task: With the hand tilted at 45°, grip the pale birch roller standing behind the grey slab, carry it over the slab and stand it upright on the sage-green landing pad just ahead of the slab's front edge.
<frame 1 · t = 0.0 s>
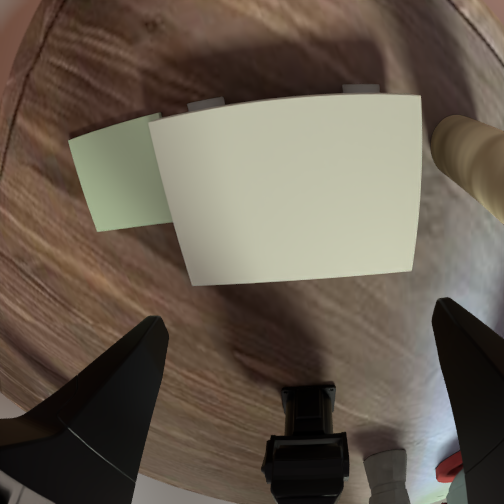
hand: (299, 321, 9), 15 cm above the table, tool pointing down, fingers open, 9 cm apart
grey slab: (294, 177, 22), on the table
landing pad: (125, 176, 23), on the table
birch roller: (458, 146, 19), on the table
coffeepot: (387, 457, 48), on the table
stand mixer: (477, 454, 52), on the table
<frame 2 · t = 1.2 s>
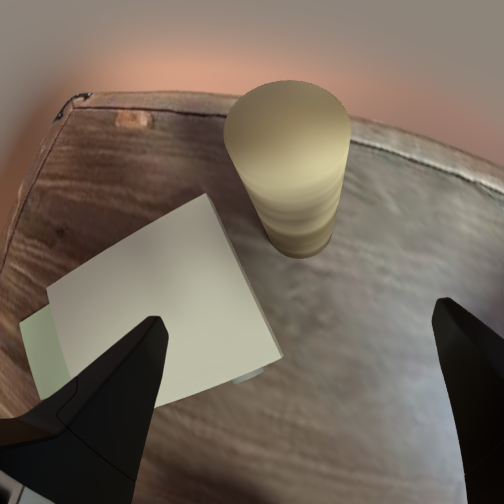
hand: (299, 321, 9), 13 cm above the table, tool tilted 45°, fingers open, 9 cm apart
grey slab: (162, 322, 24), on the table
landing pad: (54, 349, 25), on the table
birch roller: (299, 226, 24), on the table
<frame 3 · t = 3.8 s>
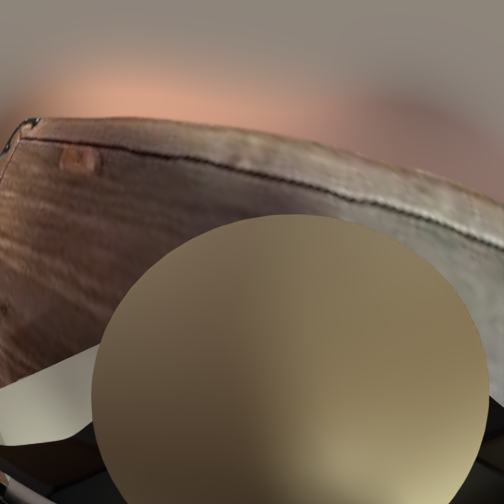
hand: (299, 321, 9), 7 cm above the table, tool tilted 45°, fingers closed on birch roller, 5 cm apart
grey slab: (122, 450, 16), on the table
birch roller: (304, 349, 15), on the table, touching gripper
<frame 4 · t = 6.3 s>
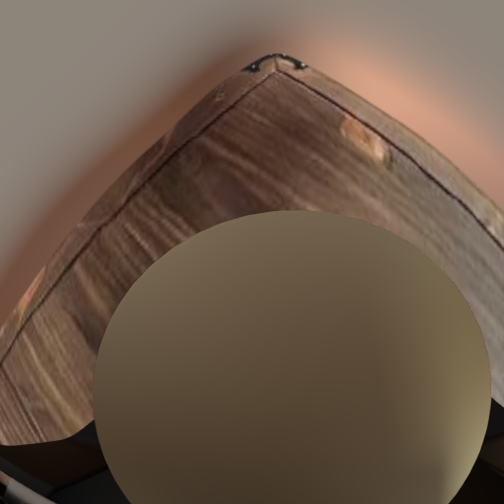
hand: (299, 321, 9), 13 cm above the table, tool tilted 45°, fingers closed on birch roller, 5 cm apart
birch roller: (304, 348, 15), point 7 cm above the table, touching gripper
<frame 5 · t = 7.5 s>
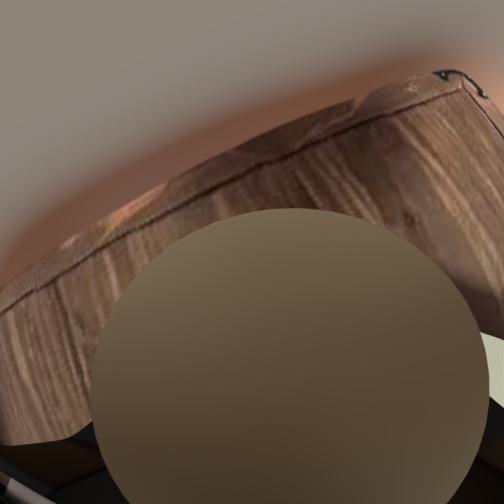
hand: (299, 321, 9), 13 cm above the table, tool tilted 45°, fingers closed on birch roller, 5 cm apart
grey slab: (448, 411, 18), on the table
birch roller: (304, 348, 15), point 6 cm above the table, touching gripper
when the fingers open (8 cm above the table, at t = 8.8 s): birch roller drops 1 cm, resting on landing pad.
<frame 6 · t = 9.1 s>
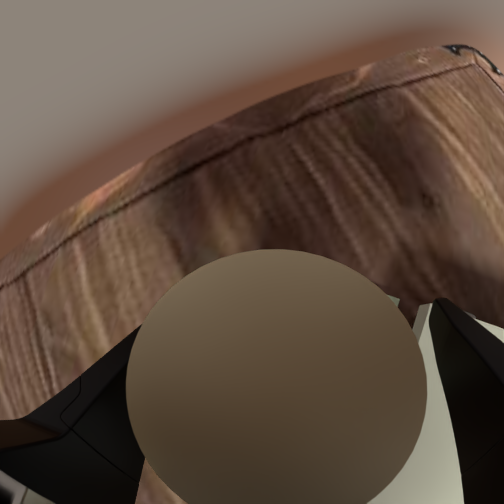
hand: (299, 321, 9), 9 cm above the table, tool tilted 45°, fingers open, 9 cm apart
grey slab: (473, 428, 14), on the table
birch roller: (303, 348, 17), point 1 cm above the table, touching landing pad
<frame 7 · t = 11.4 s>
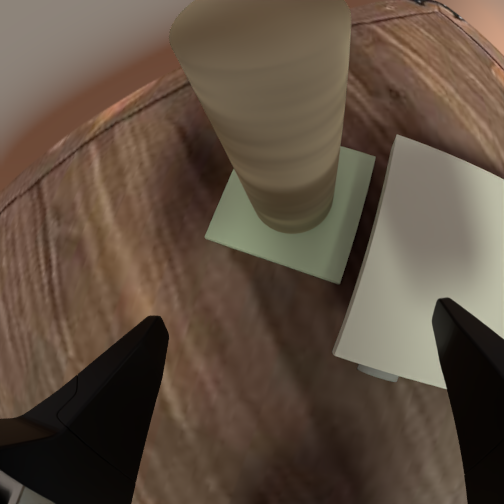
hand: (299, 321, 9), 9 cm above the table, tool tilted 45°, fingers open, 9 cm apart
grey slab: (472, 291, 16), on the table
landing pad: (294, 197, 20), on the table
birch roller: (292, 194, 19), point 1 cm above the table, touching landing pad
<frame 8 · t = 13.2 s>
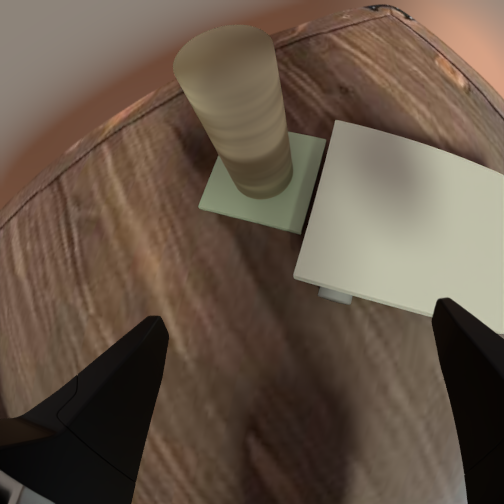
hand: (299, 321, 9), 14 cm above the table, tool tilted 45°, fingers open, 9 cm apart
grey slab: (412, 236, 22), on the table
landing pad: (264, 173, 26), on the table
birch roller: (262, 171, 25), point 1 cm above the table, touching landing pad
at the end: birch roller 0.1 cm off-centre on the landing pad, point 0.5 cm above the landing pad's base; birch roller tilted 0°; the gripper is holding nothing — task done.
